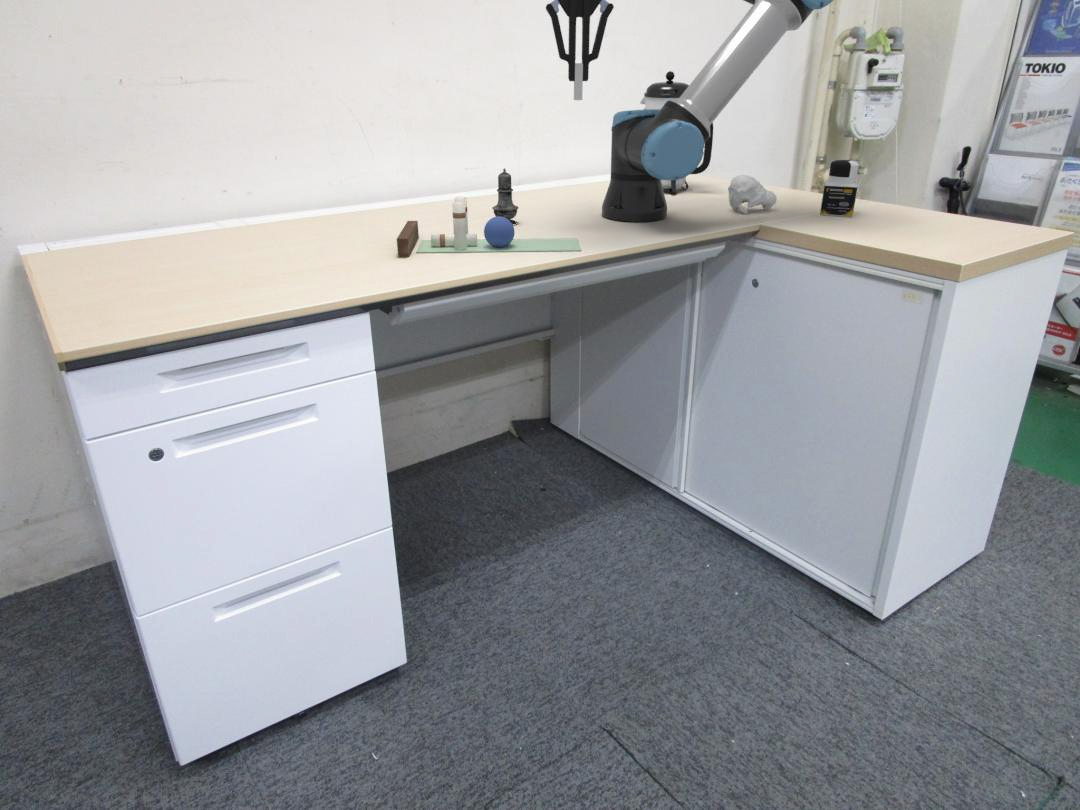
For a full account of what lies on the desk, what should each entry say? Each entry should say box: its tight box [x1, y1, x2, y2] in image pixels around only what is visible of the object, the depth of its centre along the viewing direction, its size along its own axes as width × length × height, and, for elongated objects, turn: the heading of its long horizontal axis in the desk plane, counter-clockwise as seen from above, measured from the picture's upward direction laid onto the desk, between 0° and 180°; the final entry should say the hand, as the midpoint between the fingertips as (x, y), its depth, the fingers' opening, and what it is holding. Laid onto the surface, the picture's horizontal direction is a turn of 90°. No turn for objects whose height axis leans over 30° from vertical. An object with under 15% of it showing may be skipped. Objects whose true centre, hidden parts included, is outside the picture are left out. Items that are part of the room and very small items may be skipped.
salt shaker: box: [491, 168, 519, 226], centre depth 165 cm, size 6×6×12 cm
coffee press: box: [640, 70, 714, 196], centre depth 199 cm, size 17×16×30 cm
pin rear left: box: [451, 201, 467, 250], centre depth 144 cm, size 2×2×9 cm
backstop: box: [396, 220, 420, 258], centre depth 148 cm, size 2×16×4 cm, turn 2°
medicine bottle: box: [819, 159, 860, 218], centre depth 174 cm, size 7×7×12 cm
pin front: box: [430, 233, 478, 247], centre depth 148 cm, size 2×2×9 cm
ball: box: [483, 216, 515, 248], centre depth 147 cm, size 6×6×6 cm
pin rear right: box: [454, 196, 469, 234], centre depth 149 cm, size 2×2×9 cm
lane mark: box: [415, 237, 582, 254], centre depth 149 cm, size 32×10×1 cm, turn 92°
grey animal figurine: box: [727, 174, 777, 215], centre depth 178 cm, size 6×8×12 cm
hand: (578, 99), depth 147 cm, fingers closed
